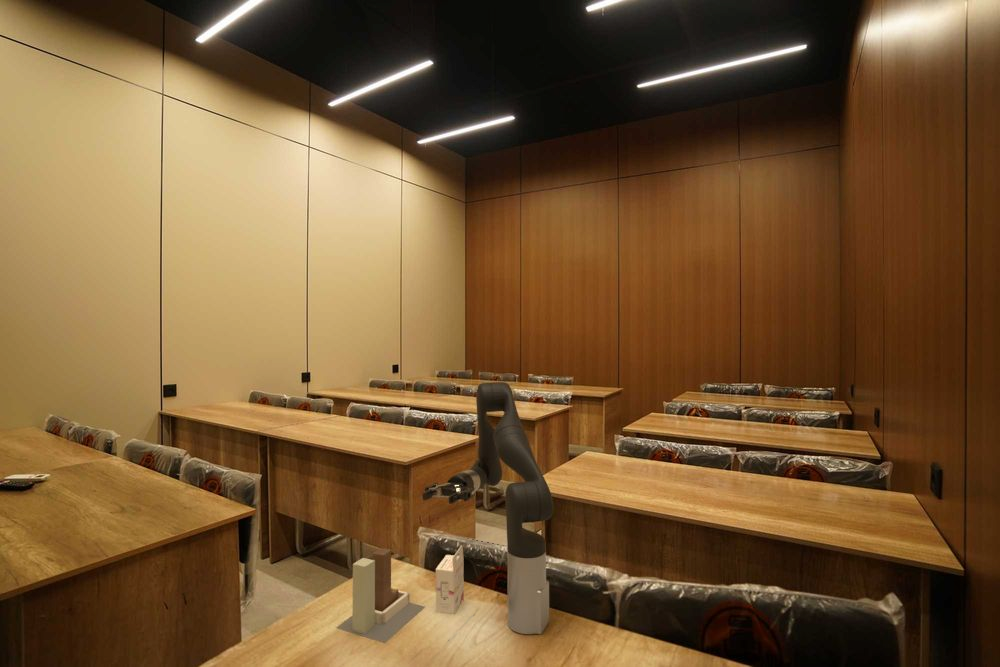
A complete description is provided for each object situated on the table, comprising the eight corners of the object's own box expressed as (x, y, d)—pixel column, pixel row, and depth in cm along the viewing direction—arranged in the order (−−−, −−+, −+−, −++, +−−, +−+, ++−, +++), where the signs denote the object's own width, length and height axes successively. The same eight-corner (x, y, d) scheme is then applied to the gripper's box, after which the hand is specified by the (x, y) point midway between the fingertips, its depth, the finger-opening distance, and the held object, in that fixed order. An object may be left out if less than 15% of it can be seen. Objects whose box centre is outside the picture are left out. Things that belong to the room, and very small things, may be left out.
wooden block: (383, 618, 114) (383, 554, 114) (372, 615, 115) (372, 552, 115) (398, 604, 120) (398, 544, 120) (387, 602, 121) (387, 542, 121)
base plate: (425, 611, 119) (425, 596, 119) (384, 648, 104) (384, 631, 104) (380, 599, 125) (380, 585, 125) (335, 633, 110) (335, 616, 110)
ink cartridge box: (445, 599, 125) (445, 542, 125) (464, 601, 124) (464, 543, 124) (435, 617, 116) (434, 556, 117) (454, 619, 115) (454, 558, 116)
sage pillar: (374, 625, 111) (374, 560, 111) (364, 634, 107) (364, 566, 108) (362, 622, 112) (363, 557, 113) (352, 630, 109) (352, 563, 109)
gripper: (444, 470, 152) (415, 482, 137) (484, 474, 146) (458, 487, 132) (444, 494, 152) (415, 509, 137) (484, 499, 146) (459, 515, 131)
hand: (436, 498), depth 134 cm, fingers open, 8 cm apart
